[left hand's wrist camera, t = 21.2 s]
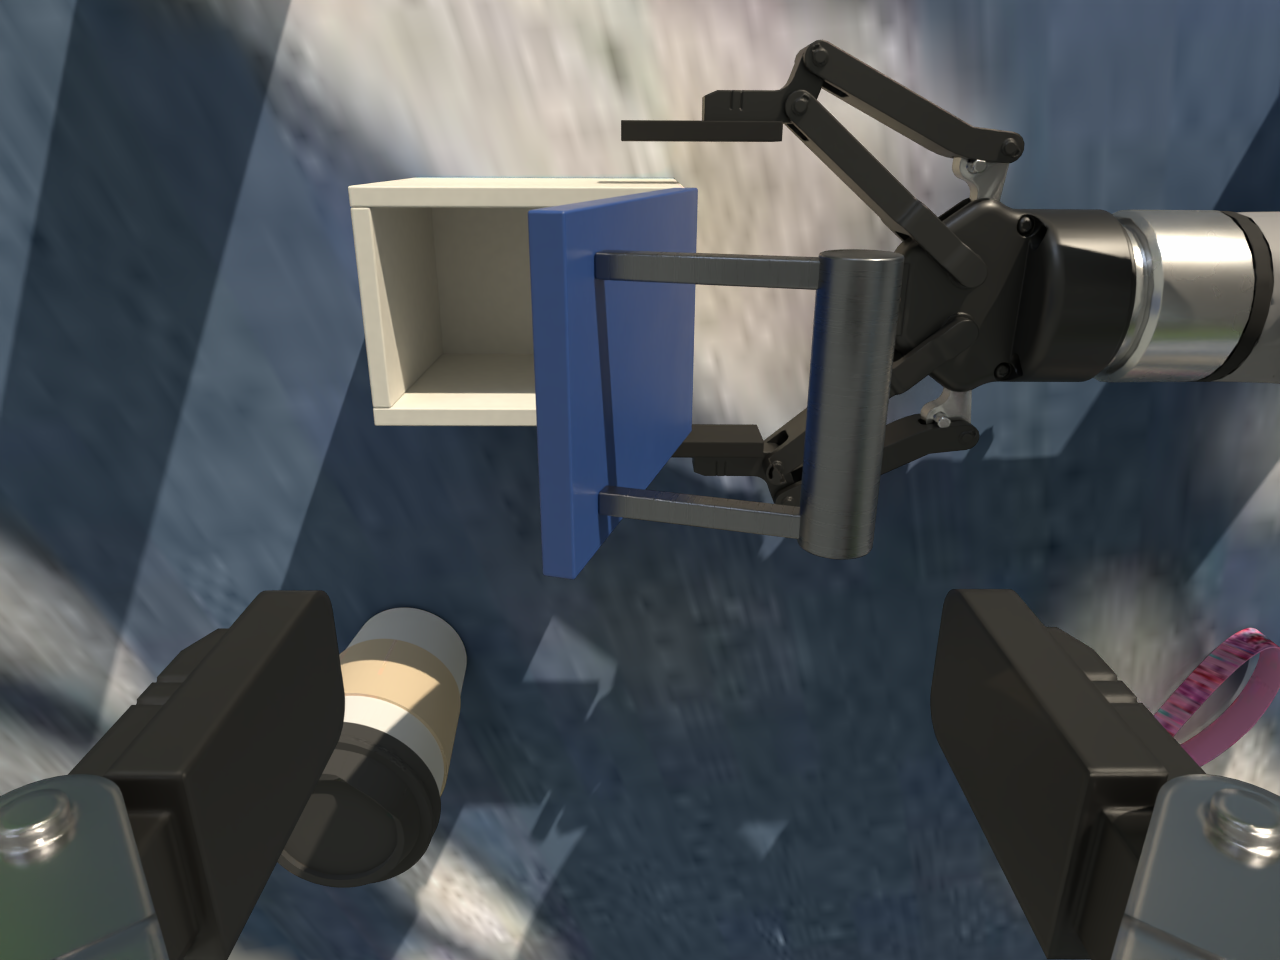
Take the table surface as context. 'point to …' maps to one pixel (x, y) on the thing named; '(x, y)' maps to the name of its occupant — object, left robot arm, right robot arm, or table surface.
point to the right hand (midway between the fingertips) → (621, 295)
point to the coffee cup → (384, 754)
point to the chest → (456, 292)
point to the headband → (1243, 713)
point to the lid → (691, 376)
